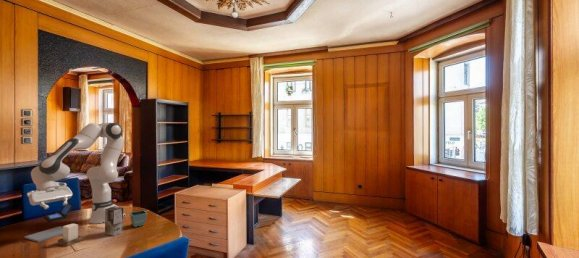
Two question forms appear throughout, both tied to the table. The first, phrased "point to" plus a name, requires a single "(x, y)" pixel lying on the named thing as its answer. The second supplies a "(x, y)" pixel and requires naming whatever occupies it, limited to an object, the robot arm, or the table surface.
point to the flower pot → (138, 218)
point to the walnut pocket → (70, 241)
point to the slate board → (45, 234)
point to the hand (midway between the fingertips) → (56, 206)
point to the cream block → (70, 232)
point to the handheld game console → (60, 213)
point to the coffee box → (114, 220)
